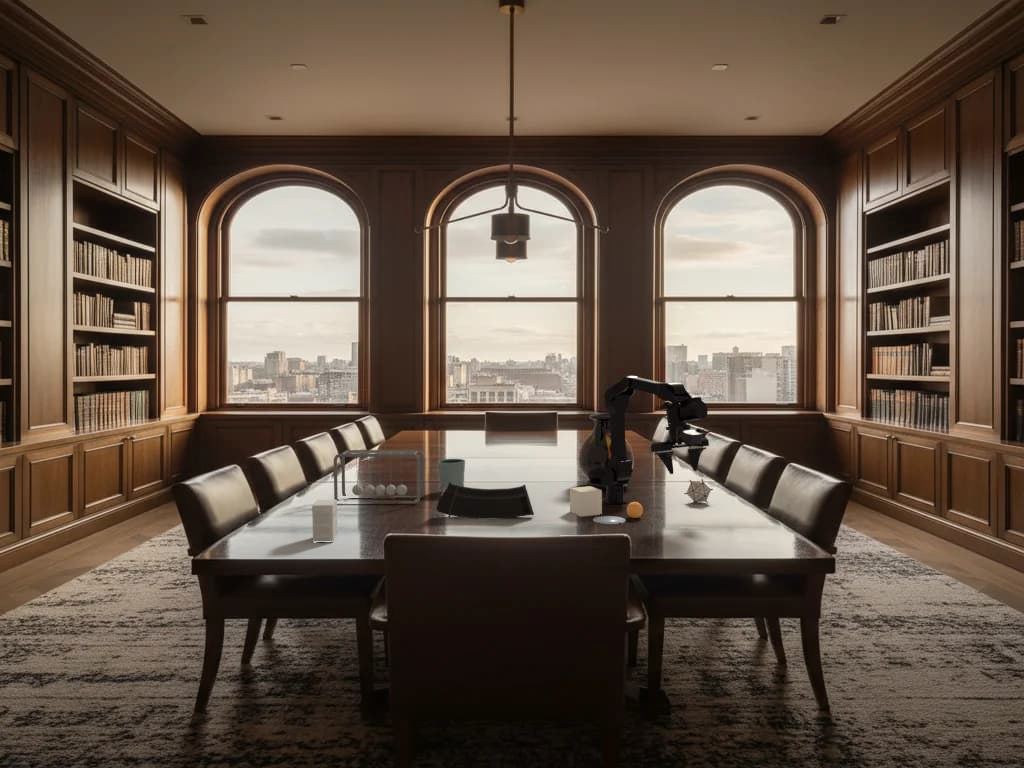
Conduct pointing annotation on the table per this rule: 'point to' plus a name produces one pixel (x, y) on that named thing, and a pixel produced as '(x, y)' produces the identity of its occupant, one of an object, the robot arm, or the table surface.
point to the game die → (698, 491)
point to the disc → (609, 520)
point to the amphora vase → (599, 451)
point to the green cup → (451, 472)
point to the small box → (324, 520)
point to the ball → (634, 509)
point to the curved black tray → (484, 502)
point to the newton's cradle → (380, 488)
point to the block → (586, 501)
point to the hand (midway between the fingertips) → (683, 472)
